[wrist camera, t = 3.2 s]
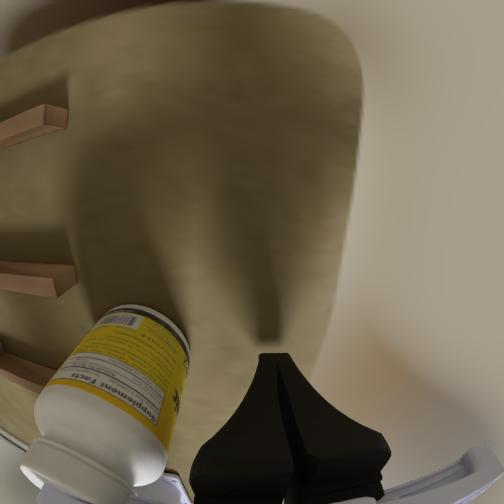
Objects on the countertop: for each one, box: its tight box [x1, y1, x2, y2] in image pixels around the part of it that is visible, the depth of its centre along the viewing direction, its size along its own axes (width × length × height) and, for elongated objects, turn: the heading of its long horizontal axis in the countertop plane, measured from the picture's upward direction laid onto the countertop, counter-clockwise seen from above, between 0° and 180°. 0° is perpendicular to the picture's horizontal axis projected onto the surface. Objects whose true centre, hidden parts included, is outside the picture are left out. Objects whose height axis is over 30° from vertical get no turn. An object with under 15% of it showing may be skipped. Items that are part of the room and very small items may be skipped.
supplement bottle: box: [20, 305, 190, 504], centre depth 9 cm, size 5×5×10 cm
